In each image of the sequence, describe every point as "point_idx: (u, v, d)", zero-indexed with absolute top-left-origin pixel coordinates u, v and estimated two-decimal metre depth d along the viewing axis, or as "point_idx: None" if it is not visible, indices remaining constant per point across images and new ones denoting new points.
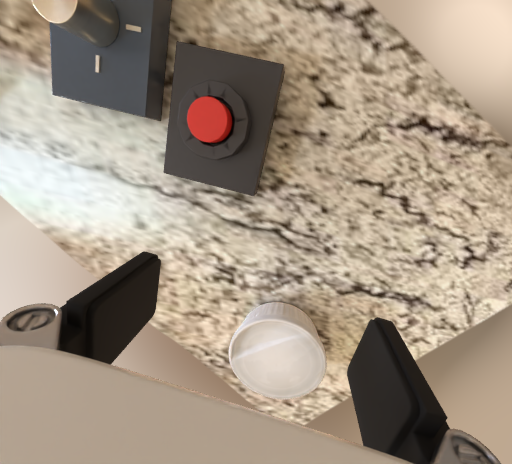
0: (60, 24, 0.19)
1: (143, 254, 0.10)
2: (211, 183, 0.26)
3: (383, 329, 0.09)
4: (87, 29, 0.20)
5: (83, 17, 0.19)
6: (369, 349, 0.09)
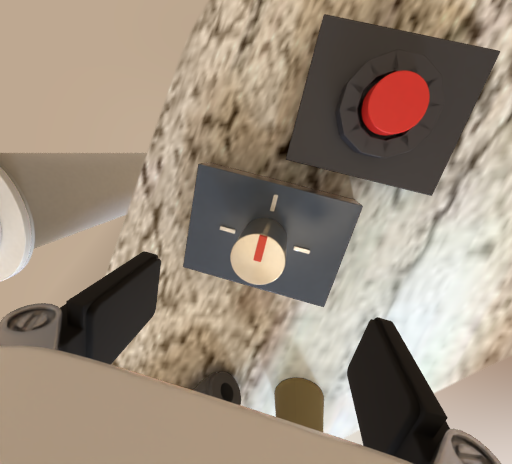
0: (285, 261, 0.18)
1: (143, 254, 0.10)
2: (463, 124, 0.18)
3: (383, 329, 0.09)
4: (283, 241, 0.19)
5: (278, 238, 0.18)
6: (369, 349, 0.09)
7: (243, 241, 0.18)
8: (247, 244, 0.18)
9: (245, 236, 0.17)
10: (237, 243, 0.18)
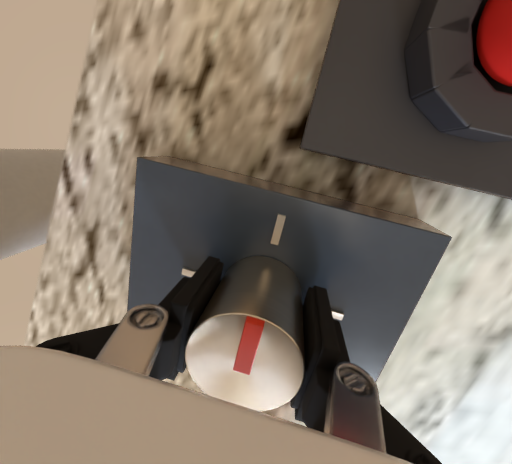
0: (304, 370, 0.08)
1: (210, 258, 0.11)
2: None
3: (315, 293, 0.10)
4: (298, 314, 0.09)
5: (287, 316, 0.08)
6: (304, 312, 0.11)
7: (210, 327, 0.08)
8: (219, 334, 0.08)
9: (214, 318, 0.08)
10: (197, 331, 0.08)
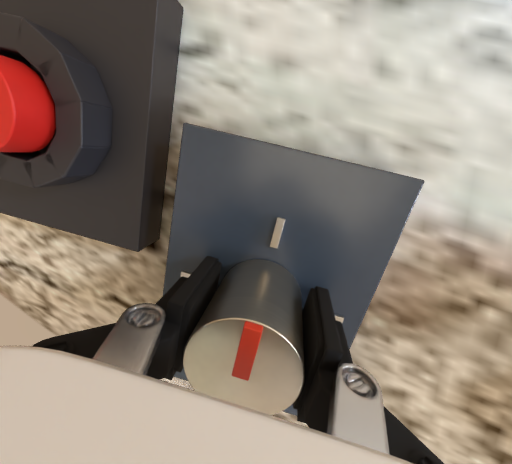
0: None
1: (208, 258, 0.11)
2: None
3: (317, 294, 0.10)
4: (298, 319, 0.09)
5: (286, 321, 0.08)
6: (306, 312, 0.11)
7: (207, 332, 0.08)
8: (218, 339, 0.08)
9: (212, 323, 0.08)
10: (195, 336, 0.08)
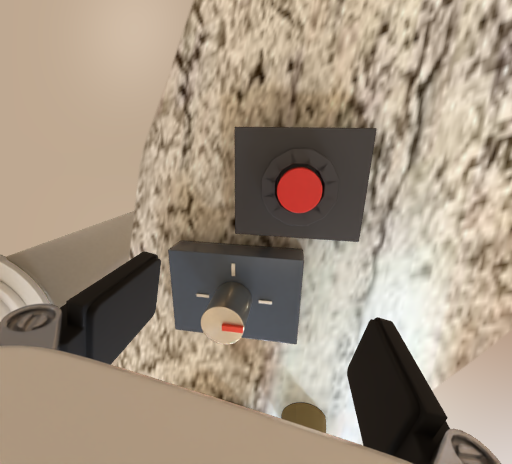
0: None
1: (143, 254, 0.10)
2: (365, 184, 0.22)
3: (383, 329, 0.09)
4: None
5: None
6: (369, 349, 0.09)
7: (234, 314, 0.22)
8: (232, 318, 0.22)
9: (238, 316, 0.22)
10: (230, 311, 0.22)
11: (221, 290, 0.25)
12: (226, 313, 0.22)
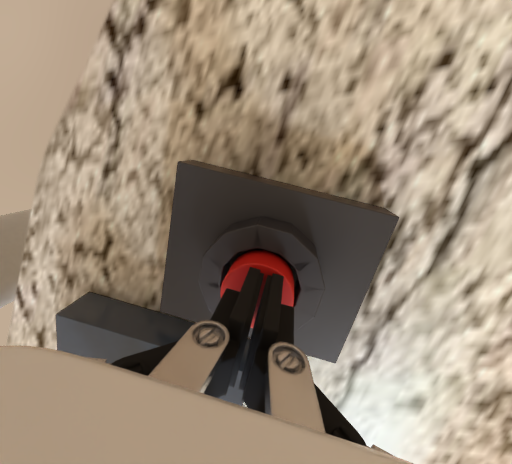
0: None
1: (251, 269, 0.11)
2: (363, 292, 0.14)
3: (271, 280, 0.11)
4: None
5: None
6: (261, 298, 0.11)
7: None
8: None
9: None
10: None
11: None
12: None
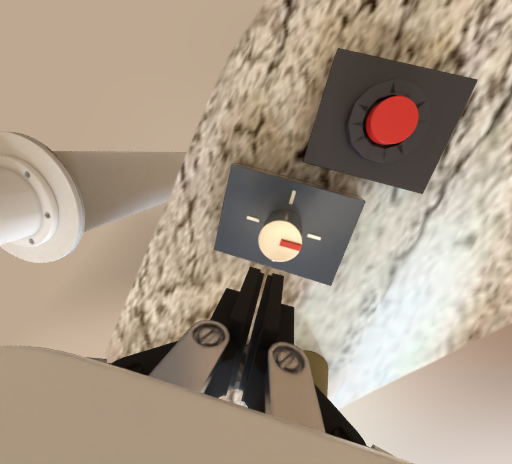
0: (278, 260, 0.23)
1: (251, 269, 0.11)
2: (448, 136, 0.22)
3: (271, 280, 0.11)
4: None
5: None
6: (261, 299, 0.11)
7: (296, 231, 0.22)
8: (293, 235, 0.22)
9: (299, 233, 0.22)
10: (294, 227, 0.22)
11: (278, 213, 0.25)
12: (288, 228, 0.22)
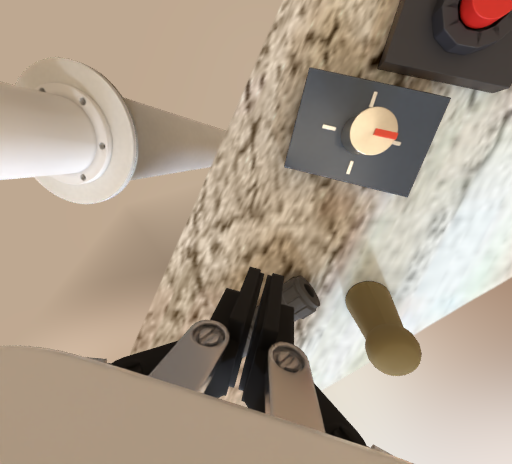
0: None
1: (251, 270, 0.11)
2: None
3: (271, 280, 0.11)
4: None
5: None
6: (261, 298, 0.11)
7: (392, 118, 0.21)
8: (388, 122, 0.22)
9: (396, 120, 0.21)
10: (390, 113, 0.21)
11: None
12: (384, 115, 0.21)
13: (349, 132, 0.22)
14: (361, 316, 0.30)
